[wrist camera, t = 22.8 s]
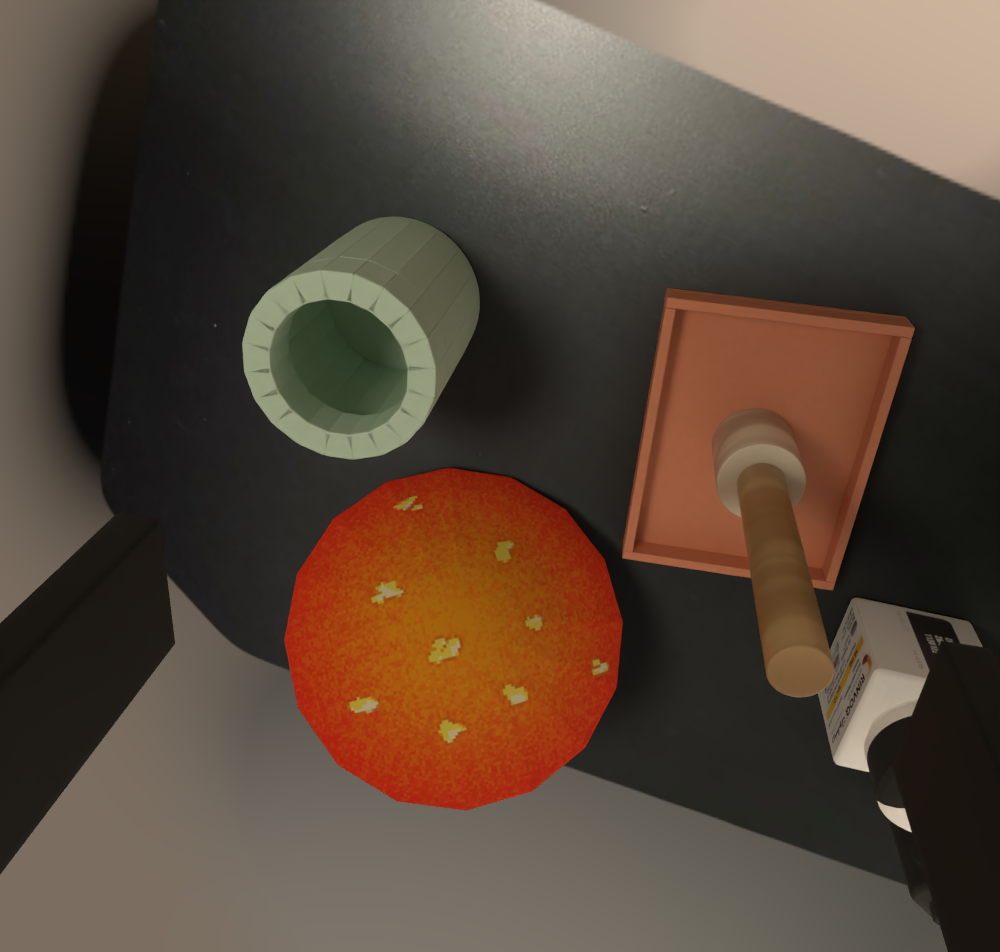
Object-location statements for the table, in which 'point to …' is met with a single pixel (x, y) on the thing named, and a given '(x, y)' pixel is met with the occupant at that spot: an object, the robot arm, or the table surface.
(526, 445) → the table surface
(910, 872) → the walkie-talkie
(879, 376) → the tray
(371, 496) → the decorative mushroom
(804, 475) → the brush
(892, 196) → the table surface
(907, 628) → the container
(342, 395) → the jar
